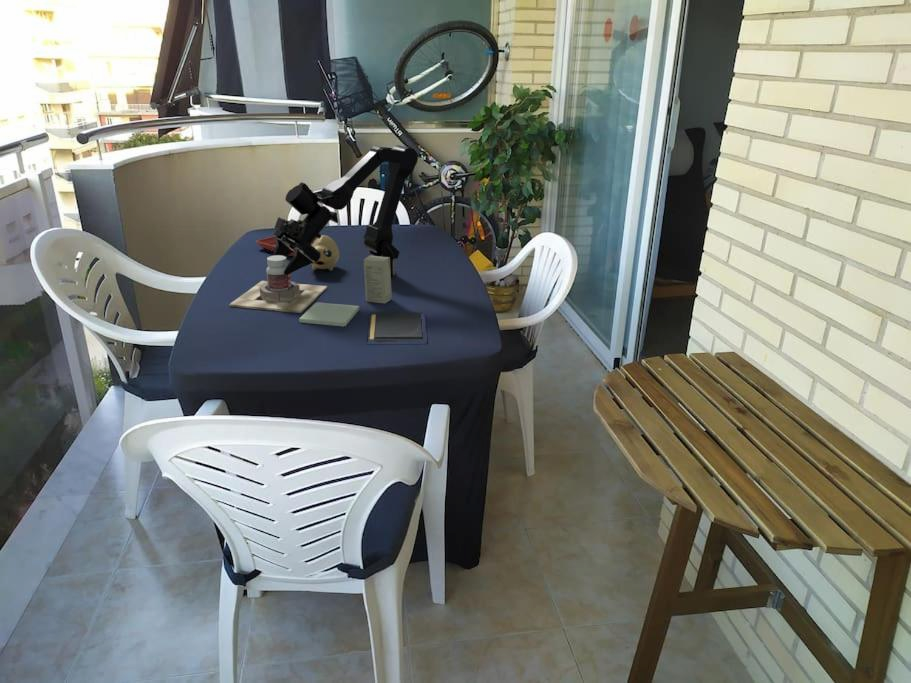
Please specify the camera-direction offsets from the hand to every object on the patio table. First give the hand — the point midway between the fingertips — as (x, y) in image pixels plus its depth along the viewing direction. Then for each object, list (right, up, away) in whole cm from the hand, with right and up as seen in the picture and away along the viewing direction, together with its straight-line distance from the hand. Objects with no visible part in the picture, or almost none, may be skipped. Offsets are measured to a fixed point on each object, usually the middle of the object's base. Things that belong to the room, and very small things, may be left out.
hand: (278, 269), depth 176 cm
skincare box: (+27, -8, +3) cm, 28 cm away
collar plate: (0, -7, +3) cm, 8 cm away
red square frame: (-7, +12, +47) cm, 49 cm away
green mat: (+16, -13, -8) cm, 22 cm away
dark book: (+34, -17, -14) cm, 41 cm away
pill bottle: (0, -7, +3) cm, 8 cm away
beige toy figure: (+7, +3, +26) cm, 27 cm away
